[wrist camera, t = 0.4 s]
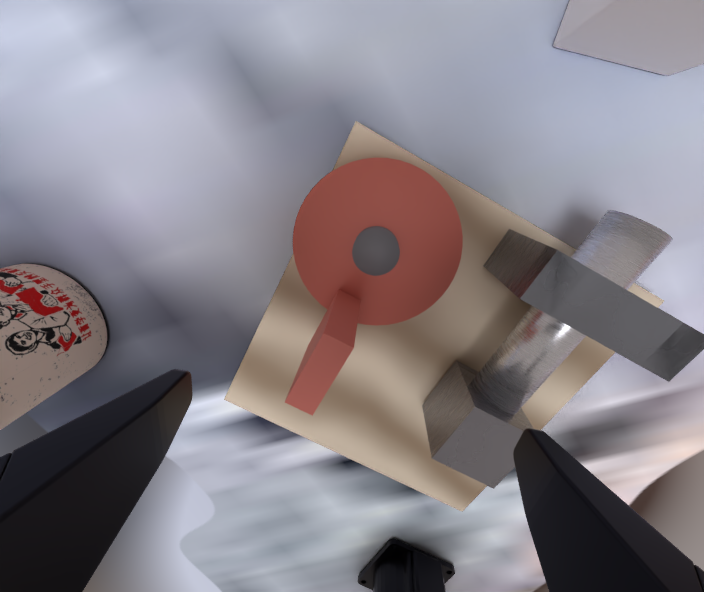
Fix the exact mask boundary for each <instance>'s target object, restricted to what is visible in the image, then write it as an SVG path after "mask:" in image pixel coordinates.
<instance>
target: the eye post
mask: <svg viewBox="0 0 704 592" xmlns="http://www.w3.org/2000/svg"><path fill="white" fill-rule="evenodd" d="M483 266H484V267H485V268H486V269H487V270H488V271H489V272H490V273H492V274H493V275H494V276H495V277H496V278H497V279H498V280H499V281H500V282H502V283H503V284H504V285H505V286H506V287H507V288H508V289H509V290H510V291H512V292H513V293H514V294H515V295H516V296H517V297H518V298H519V299H521V300H523V301H524V302H526V303H528V304H530V305H532V306H533V307H535V308H537V309H539V310H541V311H542V312H544V313H546V314H548V315H550V316H551V317H553V318H555V319H557V320H559V321H560V322H562V323H564V324H566V325H568V326H569V327H571V328H573V329H575V330H577V331H579V332H580V333H582V334H584V335H586V336H588V337H589V338H591V339H593V340H595V341H597V342H598V343H600V344H602V345H604V346H606V347H607V348H609V349H611V350H613V351H615V352H616V353H618V354H620V355H622V356H624V357H625V358H627V359H629V360H631V361H633V362H634V363H636V364H638V365H640V366H642V367H643V368H645V369H647V370H649V371H651V372H652V373H654V374H656V375H658V376H660V377H661V378H663V379H665V380H667V381H670V380H671V379H672V378H673V377H674V376H675V375H676V374H678V373H679V372H680V371H681V370H682V369H683V368H684V367H685V366H686V365H687V364H688V363H689V362H690V361H692V360H693V359H694V358H695V357H696V356H697V355H698V354H699V353H700V352H701V351H702V350H703V349H704V334H702V333H700V332H699V331H697V330H695V329H693V328H692V327H690V326H688V325H687V324H685V323H683V322H681V321H680V320H678V319H676V318H674V317H673V316H671V315H669V314H668V313H666V312H664V311H662V310H661V309H659V308H657V307H655V306H654V305H652V304H650V303H649V302H647V301H645V300H643V299H642V298H640V297H638V296H636V295H635V294H633V293H631V292H630V291H628V290H626V289H624V288H623V287H621V286H619V285H617V284H616V283H614V282H612V281H611V280H609V279H607V278H605V277H604V276H602V275H600V274H598V273H597V272H595V271H593V270H592V269H590V268H588V267H586V266H585V265H583V264H581V263H579V262H578V261H576V260H574V259H573V258H571V257H569V256H567V255H566V254H564V253H562V252H560V251H559V250H557V249H554V248H552V247H550V246H547V245H545V244H543V243H541V242H538V241H536V240H534V239H531V238H529V237H527V236H524V235H522V234H520V233H518V232H515V231H513V230H511V229H509V230H508V231H507V233H506V234H505V236H504V237H503V238H502V240H501V241H500V243H499V244H498V245H497V247H496V248H495V250H494V251H493V253H492V254H491V255H490V257H489V258H488V260H487V261H486V262H485V264H484V265H483Z"/></svg>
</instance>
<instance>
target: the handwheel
mask: <svg viewBox="0 0 704 592" xmlns="http://www.w3.org/2000/svg"><path fill="white" fill-rule="evenodd" d="M462 247H463V235H462V227H461V222H460V218H459V215H458V212H457V210H456V207H455V205H454V203H453V201H452V199H451V198H450V196H449V194H448V193H447V192H446V190H445V189H444V188H443V187H442V186H441V184H440V183H439V182H438V181H436V180H435V179H434V178H433V177H432V176H431V175H429V174H428V173H427V172H425V171H424V170H422V169H420V168H418V167H416V166H414V165H412V164H410V163H407V162H404V161H401V160H396V159H390V158H367V159H361V160H357V161H353V162H350V163H347V164H345V165H343V166H340V167H338V168H337V169H335V170H333V171H332V172H330V173H329V174H327V175H326V176H325V177H324V178H322V179H321V180H320V181H319V182H318V183H317V184H316V185H315V186H314V187H313V188H312V190H311V191H310V192H309V194H308V195H307V197H306V198H305V200H304V202H303V204H302V205H301V207H300V210H299V212H298V215H297V218H296V222H295V226H294V232H293V253H294V259H295V263H296V267H297V270H298V272H299V275H300V277H301V279H302V281H303V283H304V285H305V286H306V288H307V290H308V291H309V292H310V293H311V295H312V296H313V297H314V298H315V299H316V300H317V301H318V302H319V303H320V304H321V305H322V306H323V307H325V308H326V309H327V312H326V313H325V315H324V317H323V319H322V321H321V323H320V324H319V326H318V328H317V330H316V332H315V333H314V335H313V337H312V339H311V341H310V343H309V344H308V347H307V349H306V352H305V354H304V357H303V359H302V361H301V364H300V366H299V369H298V371H297V373H296V376H295V378H294V381H293V383H292V386H291V388H290V390H289V393H288V395H287V398H286V400H285V403H287V404H289V405H291V406H293V407H295V408H297V409H299V410H301V411H303V412H306V413H308V414H310V415H312V416H313V414H314V412H315V411H316V409H317V407H318V406H319V404H320V403H321V401H322V399H323V398H324V396H325V394H326V393H327V391H328V389H329V388H330V386H331V385H332V383H333V381H334V380H335V378H336V376H337V375H338V373H339V372H340V370H341V368H342V367H343V365H344V363H345V362H346V360H347V358H348V357H349V355H350V354H351V352H352V350H353V349H354V344H355V337H356V330H357V323H359V324H364V325H376V326H378V325H390V324H395V323H399V322H403V321H406V320H408V319H411V318H413V317H415V316H417V315H419V314H421V313H422V312H424V311H426V310H427V309H428V308H429V307H431V306H432V305H433V304H434V303H435V302H436V301H437V300H438V299H439V298H440V297H441V296H442V295H443V294H444V293H445V291H446V290H447V289H448V287H449V286H450V284H451V282H452V281H453V279H454V277H455V274H456V272H457V270H458V267H459V263H460V260H461V254H462Z"/></svg>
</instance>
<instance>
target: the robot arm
mask: <svg viewBox="0 0 704 592" xmlns="http://www.w3.org/2000/svg"><path fill="white" fill-rule="evenodd" d="M191 400H192V381H191V374H190V372H189V371H185V370H179V369H173V370H170V371H168V372H166V373H165V374H163V375H161V376H159V377H157V378H155V379H153V380H151V381H149V382H147V383H145V384H143V385H141V386H139V387H137V388H135V389H133V390H131V391H129V392H127V393H125V394H123V395H121V396H120V397H118V398H116V399H114V400H112V401H110V402H108V403H106V404H104V405H102V406H100V407H98V408H96V409H94V410H92V411H90V412H88V413H86V414H84V415H82V416H80V417H78V418H76V419H74V420H73V421H71V422H69V423H67V424H65V425H63V426H61V427H59V428H57V429H55V430H53V431H51V432H49V433H47V434H45V435H43V436H41V437H39V438H38V439H36V440H33V441H31V442H29V443H28V444H26V445H24V446H22V447H20V448H18V449H16V450H14V451H13V453H12V454H11V453H8V454H6V455H4V456H2V457H0V592H82V591H83V590H84V588H85V587H86V585H87V583H88V581H89V580H90V578H91V577H92V575H93V573H94V572H95V570H96V569H97V567H98V565H99V564H100V562H101V560H102V559H103V557H104V555H105V554H106V552H107V551H108V549H109V547H110V546H111V544H112V543H113V541H114V539H115V538H116V536H117V534H118V533H119V531H120V529H121V528H122V526H123V525H124V523H125V521H126V520H127V518H128V516H129V515H130V513H131V512H132V510H133V508H134V507H135V505H136V503H137V502H138V500H139V498H140V497H141V495H142V494H143V492H144V490H145V488H146V487H147V486H148V484H149V482H150V481H151V479H152V477H153V476H154V474H155V472H156V471H157V469H158V468H159V466H160V464H161V462H162V461H163V459H164V457H165V455H166V453H167V451H168V449H169V447H170V445H171V443H172V441H173V439H174V437H175V435H176V433H177V431H178V429H179V426H180V424H181V422H182V420H183V418H184V416H185V414H186V412H187V410H188V408H189V406H190V403H191ZM513 458H514V463H515V468H516V472H517V477H518V482H519V487H520V491H521V496H522V501H523V506H524V510H525V514H526V518H527V522H528V525H529V528H530V532H531V535H532V538H533V541H534V544H535V548H536V551H537V554H538V557H539V560H540V564H541V567H542V570H543V573H544V576H545V580H546V583H547V586H548V589H549V592H704V571H703V570H702V569H700V568H699V567H698V566H696V565H694V564H693V562H692V561H691V560H690V559H689V558H688V557H687V556H685V555H684V554H683V553H682V552H681V551H680V550H679V549H677V548H676V547H675V546H674V545H673V544H672V543H671V542H669V541H668V540H667V539H666V538H665V537H663V536H662V535H661V534H660V533H659V532H658V531H657V530H656V529H655V528H653V527H652V526H651V525H650V524H649V523H647V521H645V520H644V519H643V518H642V517H641V516H640V515H639V514H637V513H636V512H635V511H634V510H633V509H632V508H631V507H629V506H628V505H627V504H626V503H625V502H624V501H623V500H621V499H620V498H619V497H618V496H617V495H616V494H615V493H613V492H612V491H611V490H610V489H609V488H608V487H607V486H605V485H604V484H603V483H602V482H601V481H600V480H599V479H597V478H596V477H595V476H594V475H593V474H592V473H591V472H589V471H588V470H587V469H586V468H585V467H584V466H583V465H581V464H580V463H579V462H578V461H577V460H576V459H575V458H573V457H572V456H571V455H570V454H569V453H568V452H567V451H565V450H564V449H563V448H562V447H561V446H560V445H559V444H557V443H556V442H555V441H554V440H553V439H552V438H551V437H549V436H548V435H547V434H546V433H545V432H543V431H541V430H537V429H531V428H527V429H525V430H524V431H523V433H522V435H521V437H520V439H519V440H518V442H517V444H516V446H515V448H514V451H513ZM454 574H455V569H454V566H453V565H452V564H450V563H448V562H445V561H443V560H441V559H439V558H436V557H434V556H432V555H430V554H428V553H425V552H423V551H421V550H419V549H417V548H414V547H412V546H410V545H408V544H405V543H403V542H401V541H399V540H396V539H391V540H389V541H388V543H387V544H386V545H385V546H384V547H383V548H382V549H381V551H380V552H379V553H378V554H377V555H376V556H375V557H374V559H373V560H372V561H371V562H370V563H369V564H368V565H367V566H366V568H365V569H364V570H363V571H362V572H361V573H360V574H359V576H358V583H359V584H360V585H362V586H365V587H367V588H369V589H372V590H373V592H446V591H445V585H444V584H445V583H446V582H447V581H448V580H449V579H450V578H451V577H452V576H453V575H454Z"/></svg>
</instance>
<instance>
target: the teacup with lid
mask: <svg viewBox="0 0 704 592" xmlns="http://www.w3.org/2000/svg"><path fill="white" fill-rule="evenodd" d="M106 345H107V328H106V324H105V320H104V318H103V315H102V313H101V311H100V309H99V307H98V305H97V304H96V302H95V301H94V300H93V298H92V297H91V296H90V295H89V293H88V292H87V291H86V290H85V289H84V288H83V287H82V286H80V285H79V284H78V283H77V282H76V281H74V280H73V279H71V278H70V277H68V276H67V275H65V274H63V273H61V272H59V271H57V270H55V269H52V268H49V267H46V266H42V265H36V264H18V265H12V266H8V267H5V268H1V269H0V430H1V429H2V428H4V427H6V426H7V425H9V424H10V423H11V422H13V421H14V420H16V419H17V418H19V417H20V416H22V415H23V414H25V413H26V412H28V411H29V410H31V409H32V408H34V407H35V406H37V405H38V404H39V403H41V402H42V401H44V400H45V399H47V398H48V397H50V396H51V395H53V394H54V393H56V392H57V391H59V390H60V389H62V388H63V387H65V386H66V385H67V384H69V383H70V382H72V381H73V380H75V379H76V378H78V377H79V376H81V375H82V374H84V373H85V372H87V371H88V370H90V369H91V368H92V367H94V366H95V365H96V364H97V363H98V362H99V360H100V359H101V358H102V356H103V354H104V352H105V349H106Z"/></svg>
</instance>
